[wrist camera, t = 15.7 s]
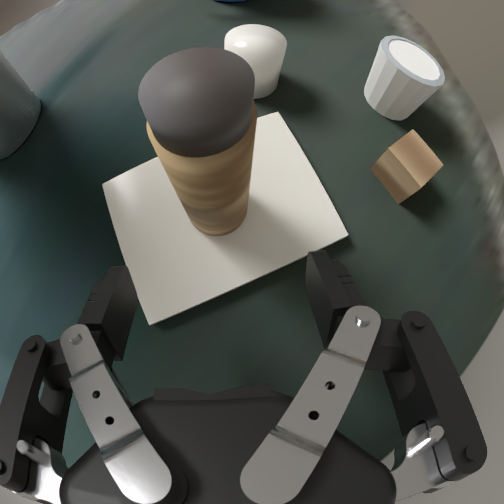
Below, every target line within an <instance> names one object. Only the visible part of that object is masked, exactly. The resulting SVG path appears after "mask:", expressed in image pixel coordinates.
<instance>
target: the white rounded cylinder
mask: <svg viewBox="0 0 504 504" xmlns="http://www.w3.org/2000/svg"><path fill="white" fill-rule="evenodd" d="M286 47H287V41H286V39H285V37H284V36H283V35H282V34H281V33H280V32H279V31H277V30H275V29H273V28H271V27H268V26H264V25H257V24H247V25H242V26H238V27H235V28H233V29H232V30H230V31H229V32H228V33H227V34H226V36H225V50H228V51H231V52H233V53H235V54H237V55H239V56H240V57H242V58H243V59H244V60H245V61H247V63H248V64H249V65H250V67H251V68H252V70H253V73H254V76H255V88H254V99H259V98H263V97H266V96H268V95H270V94H271V93H272V92H273V91H274V90H275V89H276V87H277V83H278V79H279V75H280V71H281V67H282V63H283V59H284V55H285V51H286Z"/></svg>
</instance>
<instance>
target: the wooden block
mask: <svg viewBox="0 0 504 504" xmlns="http://www.w3.org/2000/svg"><path fill="white" fill-rule="evenodd" d="M442 166H443V164H442V163H441V161H440V160H439V159H438V158H437V156H436V155H435V154H434V153H433V151H432V150H431V149H430V148H429V147H428V146H427V144H426V143H425V142H424V141H423V140H422V139H421V137H420V136H419V135H418V134H417V133H416V132H415V131H414V130H413V129H412V130H411V131H410V132H408V133H407V134H406V135H405V136H403V137H402V138H401V139H399V140H398V141H397V142H396V143H394V144H393V145H392V146H390V147H389V148H388V149H387V150H386V151H385V153H384V154H383V155H382V156H381V157H380V158H379V159H378V161H377V162H376V163H375V164H374V165H373V166H372V167H371V168H370V170H371V171H372V173H373V174H374V175H375V176H376V177H377V178H378V179H379V181H380V182H381V183H382V184H383V185H384V187H385V188H386V189H387V190H388V191H389V193H390V194H391V195H392V196H393V198H394V199H395V200H396V201H397V203H398V204H399V203H401V202H402V201H404V200H405V199H407V198H408V197H409V196H411V195H412V194H414V193H415V192H416V191H418V190H419V189H421V188H422V187H423V186H424V185H425V184H426V183H427V182H428V181H429V180H430V178H431V177H432V176H433V175H434V174H435V173H436V172H437V171H438V170H439V169H440V168H441V167H442Z"/></svg>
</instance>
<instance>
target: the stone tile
mask: <svg viewBox="0 0 504 504" xmlns="http://www.w3.org/2000/svg"><path fill="white" fill-rule="evenodd" d="M102 186H103V190H104V194H105V198H106V201H107V205H108V209H109V212H110V216H111V219H112V223H113V226H114V229H115V233H116V236H117V239H118V242H119V245H120V248H121V251H122V254H123V257H124V260H125V263H126V266H127V267H128V269H129V272H130V275H131V277H132V280H133V283H134V286H135V289H136V292H137V296H138V299H139V301H140V304H141V306H142V309H143V311H144V314H145V316H146V319H147V321H148V323H149V325H153V324H156V323H158V322H161V321H163V320H165V319H168V318H170V317H172V316H175V315H177V314H179V313H182V312H184V311H186V310H189V309H191V308H193V307H195V306H198V305H200V304H202V303H205V302H207V301H209V300H211V299H214V298H216V297H218V296H220V295H223V294H225V293H227V292H229V291H232V290H234V289H236V288H238V287H241V286H243V285H245V284H247V283H249V282H252V281H254V280H256V279H258V278H260V277H263V276H265V275H267V274H269V273H271V272H274V271H276V270H278V269H280V268H282V267H284V266H286V265H289V264H291V263H293V262H295V261H297V260H299V259H301V258H304V257H306V256H307V255H308V252H309V251H318V250H321V249H323V248H325V247H327V246H329V245H331V244H333V243H335V242H337V241H339V240H341V239H343V238H345V237H346V236H348V233H347V231H346V229H345V227H344V225H343V223H342V221H341V219H340V217H339V215H338V213H337V212H336V210H335V208H334V206H333V204H332V202H331V200H330V198H329V197H328V195H327V193H326V191H325V189H324V187H323V186H322V184H321V182H320V180H319V178H318V177H317V175H316V173H315V171H314V170H313V168H312V166H311V164H310V163H309V161H308V159H307V158H306V156H305V154H304V152H303V151H302V149H301V147H300V146H299V144H298V142H297V141H296V139H295V138H294V136H293V134H292V133H291V131H290V130H289V128H288V126H287V125H286V123H285V122H284V120H283V118H282V117H281V115H280V114H279V112H275V113H272V114H268V115H265V116H262V117H259V118H257V124H256V133H255V142H254V151H253V161H252V170H251V180H250V189H249V199H248V208H247V214H246V217H245V219H244V221H243V223H242V224H241V225H240V226H239V227H238V228H237V229H236V230H235V231H233V232H231V233H229V234H227V235H223V236H210V235H207V234H204V233H202V232H200V231H199V230H198V229H196V228H195V227H194V225H193V224H192V223H191V221H190V219H189V217H188V215H187V213H186V211H185V209H184V207H183V205H182V203H181V201H180V199H179V198H178V196H177V194H176V192H175V190H174V188H173V186H172V184H171V182H170V180H169V178H168V176H167V174H166V172H165V170H164V168H163V166H162V163H161V161H160V159H159V157H156V158H154V159H152V160H150V161H147V162H145V163H143V164H141V165H139V166H137V167H135V168H133V169H131V170H129V171H127V172H125V173H123V174H121V175H119V176H117V177H115V178H113V179H111V180H109V181H107V182H105V183H104V184H102Z"/></svg>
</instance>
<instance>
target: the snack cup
mask: <svg viewBox="0 0 504 504" xmlns="http://www.w3.org/2000/svg"><path fill="white" fill-rule="evenodd" d="M215 1H225V2H236V1H246V0H215Z"/></svg>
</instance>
